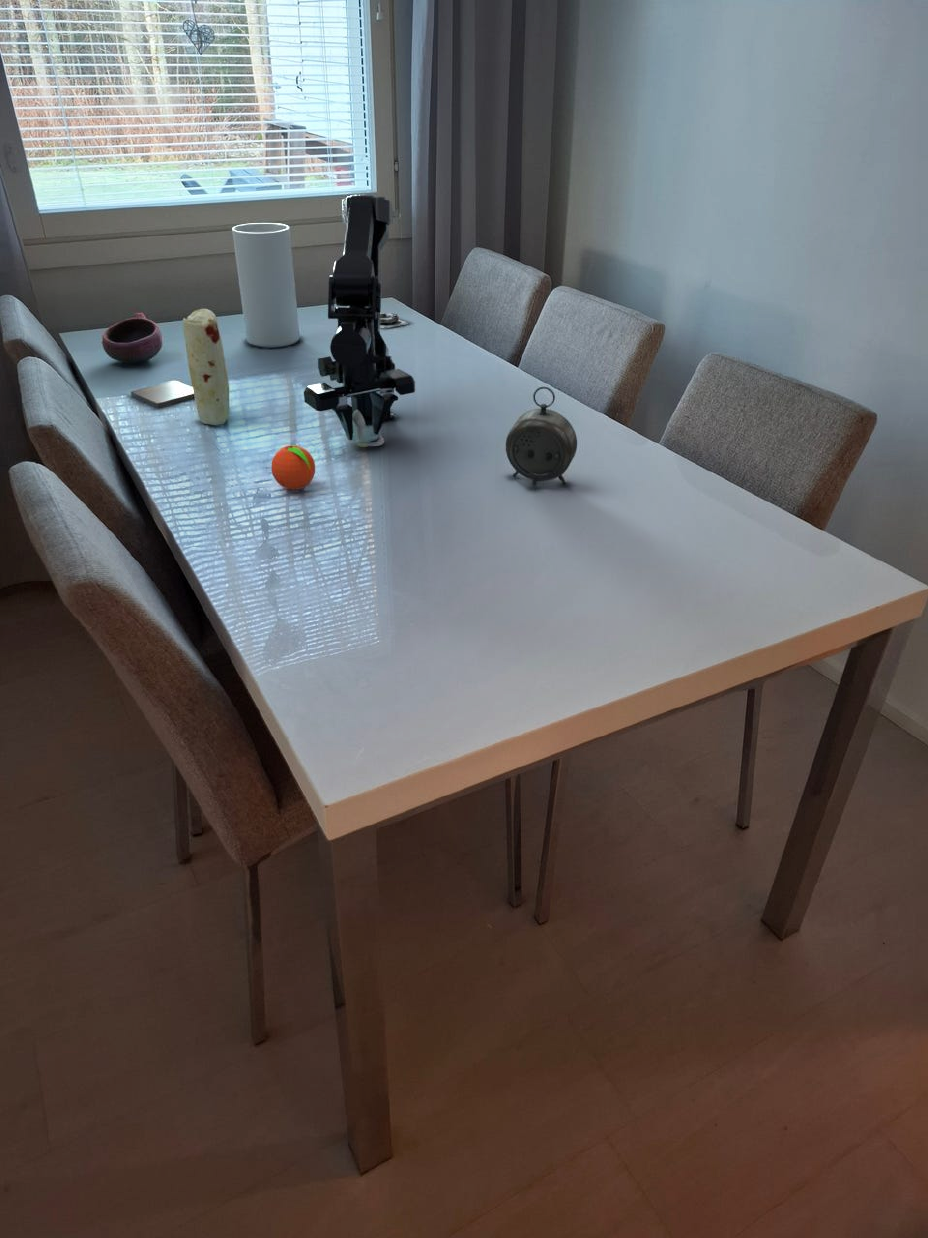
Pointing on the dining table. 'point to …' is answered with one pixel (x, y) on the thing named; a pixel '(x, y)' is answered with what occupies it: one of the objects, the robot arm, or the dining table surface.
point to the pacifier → (364, 432)
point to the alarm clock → (541, 444)
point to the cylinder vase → (266, 284)
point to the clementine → (293, 467)
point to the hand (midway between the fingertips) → (363, 436)
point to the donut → (390, 320)
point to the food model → (207, 366)
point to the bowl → (133, 340)
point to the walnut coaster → (164, 394)
